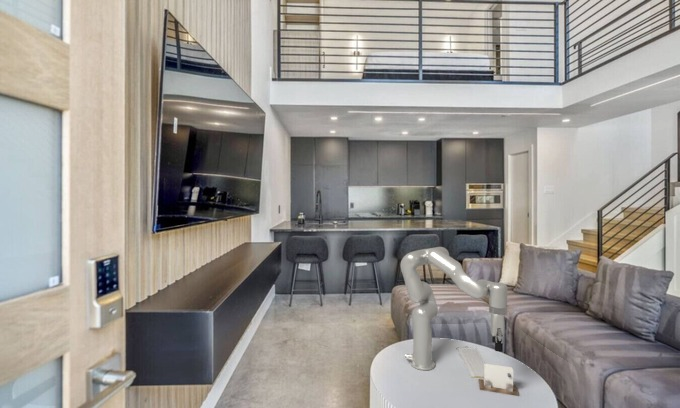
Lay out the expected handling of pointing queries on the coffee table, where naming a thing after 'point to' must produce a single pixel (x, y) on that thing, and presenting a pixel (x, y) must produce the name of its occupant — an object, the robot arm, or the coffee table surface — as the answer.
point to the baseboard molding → (472, 362)
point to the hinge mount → (509, 388)
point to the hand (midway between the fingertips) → (497, 346)
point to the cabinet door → (498, 375)
